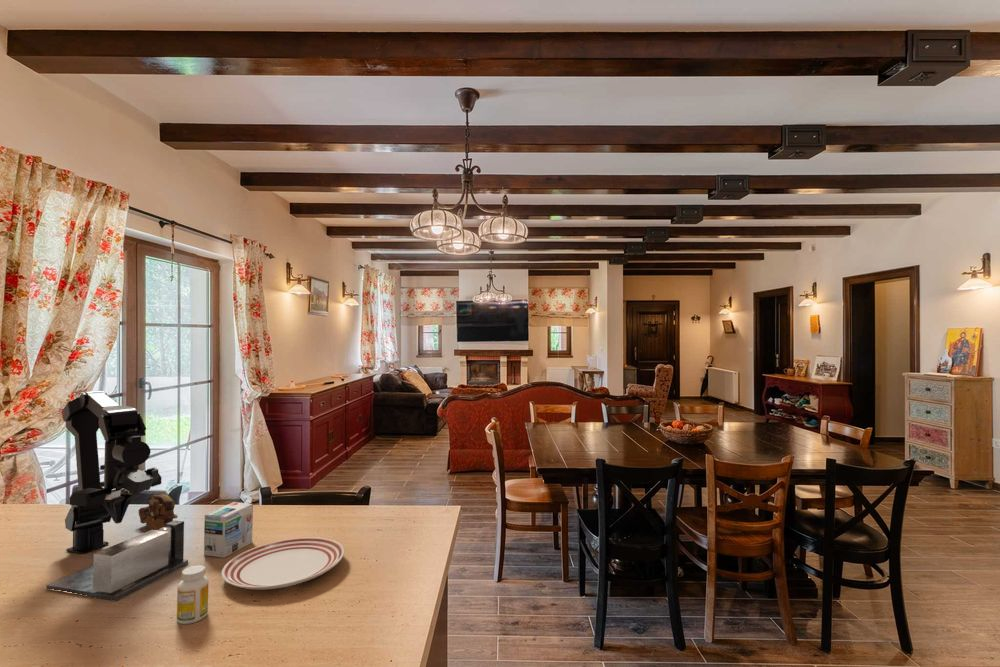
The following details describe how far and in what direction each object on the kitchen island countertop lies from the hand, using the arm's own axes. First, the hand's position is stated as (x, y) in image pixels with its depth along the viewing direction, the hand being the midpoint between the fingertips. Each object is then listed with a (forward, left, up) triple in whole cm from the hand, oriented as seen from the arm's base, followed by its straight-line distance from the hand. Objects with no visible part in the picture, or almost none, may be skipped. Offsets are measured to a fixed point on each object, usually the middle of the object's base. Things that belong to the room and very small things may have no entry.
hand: (118, 523), depth 119 cm
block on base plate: (+5, -3, -11) cm, 12 cm away
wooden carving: (-13, +22, -11) cm, 28 cm away
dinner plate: (+41, +9, -12) cm, 43 cm away
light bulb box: (+18, +16, -11) cm, 27 cm away
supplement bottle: (+36, -13, -11) cm, 40 cm away
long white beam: (+11, -4, -9) cm, 15 cm away
